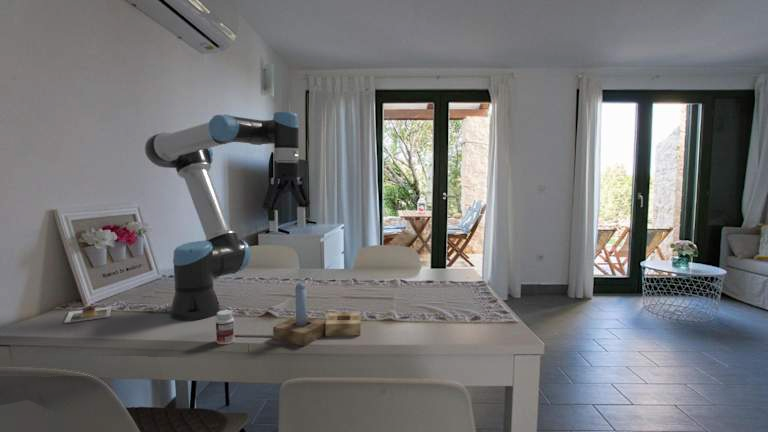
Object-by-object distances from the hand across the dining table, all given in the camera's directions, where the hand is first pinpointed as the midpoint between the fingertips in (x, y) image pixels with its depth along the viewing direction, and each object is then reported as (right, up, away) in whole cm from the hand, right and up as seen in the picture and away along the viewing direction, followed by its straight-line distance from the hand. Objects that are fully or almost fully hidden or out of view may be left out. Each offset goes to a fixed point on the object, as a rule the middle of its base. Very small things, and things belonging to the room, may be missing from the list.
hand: (288, 229), depth 138 cm
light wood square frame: (+19, -30, -9) cm, 36 cm away
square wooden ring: (+7, -30, -14) cm, 34 cm away
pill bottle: (-13, -31, -18) cm, 38 cm away
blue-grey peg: (+7, -30, -14) cm, 34 cm away
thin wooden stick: (-8, -30, -15) cm, 34 cm away
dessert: (-66, -29, +3) cm, 72 cm away
